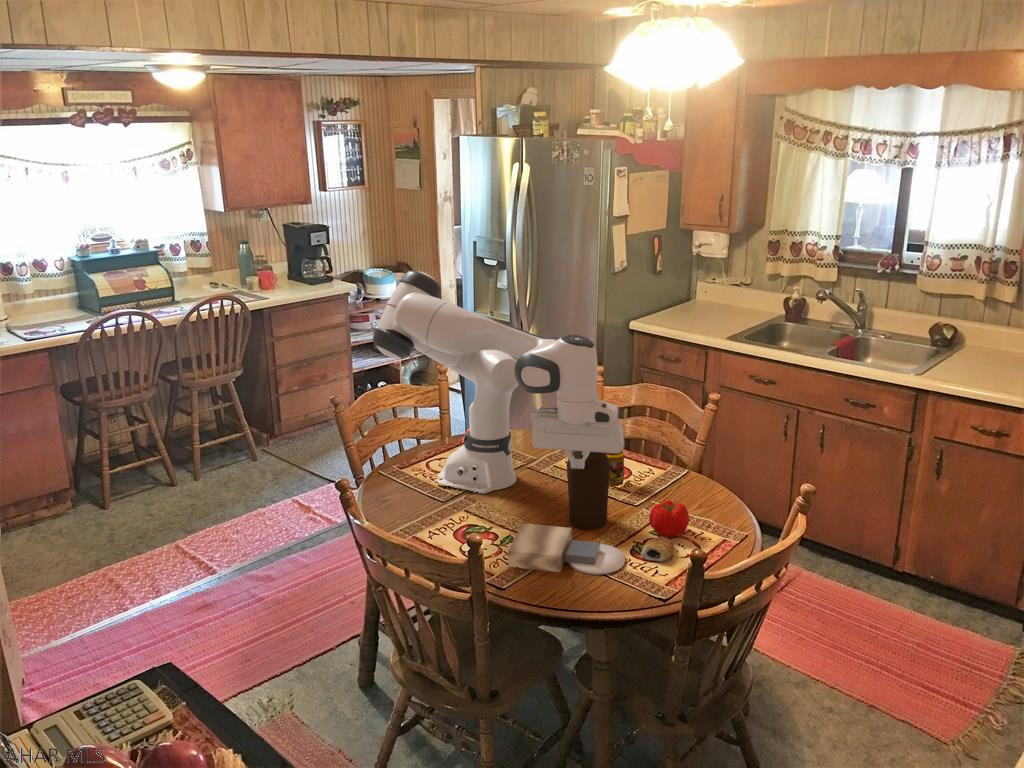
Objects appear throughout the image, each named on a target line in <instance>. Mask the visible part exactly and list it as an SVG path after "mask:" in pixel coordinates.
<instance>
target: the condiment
mask: <svg viewBox="0 0 1024 768" xmlns="http://www.w3.org/2000/svg"><path fill="white" fill-rule="evenodd" d="M606 455H607V456H608V459H609V463H610V474H609V486H619V485H622V484H623V481H624V479H625V453H624V448H623V449H622V451H621V452H620V453H606Z"/></svg>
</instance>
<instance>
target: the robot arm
mask: <svg viewBox="0 0 1024 768" xmlns="http://www.w3.org/2000/svg"><path fill="white" fill-rule="evenodd" d="M441 293H442V288H441V285H440V284H439V282H437V280H436V279H435V278H434V277H432V275H430V274H428V273H426V272H424V271H423V272H422V271H419V270H409V271H407V272H406V273H405V274H403V276H402V277H401V278H400V280H399V283H398V285H397V286H396V287H395V289H394V291H393V292H392V293H391V296H390V297H389V298H388V301H387V302H386V306H385V308H384V310H383V312H382V315H381V317H380V319H379V321H378V325H377V327H376V328H375V329H374V332H373V336H372V342H373V345H374V346H375V347H376V348H377V350H379V352H381V354H382V355H385V356H386V357H388V358H391V359H400V360H404V359H407V358H408V357H410V356H411V355H412V354H413V352H415V350H416V351H418V352H420V353H421V354H423V355H425V356H427V357H428V358H431V359H432V360H433V361H435V362H437V363H438V364H441V365H442V366H444V367H446V368H448V369H450V370H452V371H453V372H454V373H456V374H458V375H460V376H462V377H464V378H465V379H467V380H469V381H470V382H472V383H473V384H475V395H474V399H473V402H472V403H471V404H470V405H469V408H468V416H469V419H468V421H469V424H468V425H469V428H468V429H467V430H465V434H464V435H463V438H462V439H461V443H462V444H463V445H462V446H461V447H459V448H458V449H456V450H455V451H453V453H451V454H450V455H449V456H448V458H447V459H446V461H445V464H444V469H442V470H441V471H440V472H439V474H438V475H437V478H436V483H437V482H438V483H440V484H445V485H449V486H454V487H458V488H462V489H467V490H470V491H473V492H472V493H476V492H478V493H477V494H481V493H482V494H488V493H490V492H492V491H497V490H502V489H507V488H509V487H511V486H512V485H514V484H515V483H517V480H518V479H517V475H516V472H515V469H514V466H513V464H514V463H513V459H512V450H513V440H512V432H511V431H510V405H511V399H512V395H513V392H514V391H515V389H516V388H518V386H520V388H521V389H523V391H525V392H527V393H529V394H550V393H556V407H544V406H537V408H534V409H533V410H532V412H531V413H530V422H531V424H532V425H533V426H532V434H531V444H532V445H533V447H534V448H535V449H542V450H543V449H544V450H546V449H547V450H557V451H559V450H561V451H565V456H566V457H567V460H568V459H569V461H571V468H574V469H584V467H585V460H586V459H587V457H588V455H589V453H590V452H602V453H620V452H621V451H622V449H623V450H624V446H625V438H624V428H623V424H622V421H621V419H620V418H619V417H618V416H619V407H618V406H617V405H616V404H614V403H610V402H608V401H605V400H602V399H600V398H599V395H598V391H597V382H598V379H599V373H598V372H599V370H598V366H599V365H598V355H597V348H596V346H595V344H594V342H593V341H592V340H591V339H590V338H588V337H586V336H584V335H579V334H564V335H562V336H542V335H538V334H534V333H531V332H529V331H526V330H524V329H520V328H517V327H515V326H512V325H509V324H507V323H504V322H500V321H497V320H493V319H492V318H489V317H485V316H482V315H481V314H478V313H475V312H472V311H470V310H467V309H465V308H463V307H460V306H458V305H456V304H453V303H452V302H449V301H447V300H444V299H442V298H441V295H442V294H441ZM512 356H513V357H512ZM514 357H516V358H517V360H516V359H515V358H514ZM573 451H582V455H584V456H583V458H582V459H575V458H574V456H573V454H572V452H573ZM438 478H441V479H442V478H443V479H442V480H438ZM470 491H469V492H470Z"/></svg>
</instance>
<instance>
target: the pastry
mask: <svg viewBox="0 0 1024 768" xmlns="http://www.w3.org/2000/svg"><path fill="white" fill-rule="evenodd" d="M673 553H674V543H673V540H672V539H670V538H669V537H663V536H658V537H654V538H650V539H648V540H647V542H645V543H644V544H643V545H642V550H641V552H640V556H641V557H642V558H643V559H644V560H647V561H653V562H658V563H659V562H660V563H663V562H668V561H669V560H670V559H671V558H672V556H673Z"/></svg>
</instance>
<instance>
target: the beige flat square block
mask: <svg viewBox="0 0 1024 768" xmlns="http://www.w3.org/2000/svg"><path fill="white" fill-rule="evenodd" d="M572 532H573V529H572V527H566V526H565V527H564V526H556V525H555V526H554V525H544V524H536V523H535V524H532V523H522V524H521V526H520V527H519V529H518V531H517V533H516V535H515V537H514V539H513V541H512V543H511V545H510V547H509V548H508V549H507V560H508V561H507V562H508V563H507V564H508V565H507V566H511V567H510V568H516V567H518V568H517V569H527V570H535V571H537V570H538V571H544V572H553V573H554V572H555V573H561V571H562V569H563V566H564V565H565V562H564V554H565V552H566V549H567V547H568V545H569V542H570V540H573V538H572V537H573V533H572Z"/></svg>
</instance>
